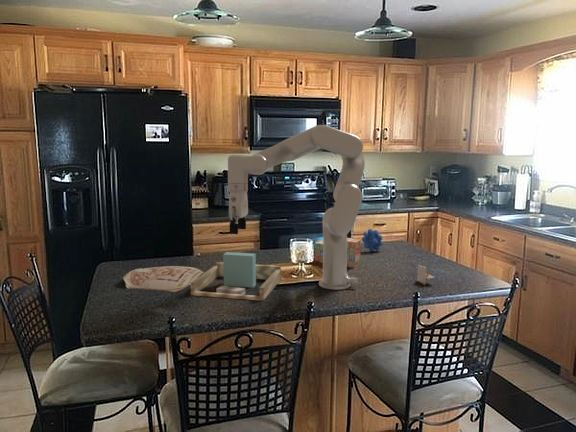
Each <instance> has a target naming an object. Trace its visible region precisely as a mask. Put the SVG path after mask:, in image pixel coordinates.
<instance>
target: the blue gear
mask: <svg viewBox="0 0 576 432" xmlns="http://www.w3.org/2000/svg"><path fill="white" fill-rule="evenodd" d="M362 235H363V237H362V238H361V243H364V244H363V246H364V248H365V249H368V250H369V252H374V250H375V251H376V252H378V251H380V247H382V246H383V244H384V243H383V241H382V240H383V236H382V235H381V234H379V231H378V230H373V228H368V230H367V231H364V232H363V234H362Z"/></svg>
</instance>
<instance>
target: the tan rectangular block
mask: <svg viewBox="0 0 576 432" xmlns="http://www.w3.org/2000/svg"><path fill="white" fill-rule="evenodd" d="M361 249H362V239H356V238H351V237H347V268H353V269H356V268H358V267H359V266H361V254H362V253H361V251H362V250H361ZM314 262H315V263H320V264H323V240H319V241H316V242H314Z"/></svg>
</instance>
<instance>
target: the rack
mask: <svg viewBox="0 0 576 432" xmlns="http://www.w3.org/2000/svg"><path fill="white" fill-rule="evenodd" d="M218 277H223V278H224V272H223V261H216V262H214V265H213V266H212V267H211V268H209V269H208V270H207V271H205V272H204V273H202V274H201V275H200V276H199V277H198V278H197V279H195V280H194V281H192V282H191V285H190V296H196V297H197V296H199V297H200V296H201V297H212V298H221V299H222V298H225V299H236V300H237V299H238V300H239V299H240V300H251V301H261V302H263V301H265V299H266V298H267V297H268V296H269V295H270V293H271V292H272V291H273V290H274V289H275V287H276V286H277V285H278V283H280V282H281V281H282V266H281V265H272V264H257V263H256V280H262V281H263V280H265V281H264V282H263V283H262V284H261V285H260V286H259V295H254V294H252V295H250V294H244V295H241V294H228V293H217V292H212V291H211V292H210V291H202V290H203V289H204V288H206V287H207V286H209V285H210V284H211V283H212V282H214V281H215V280H216V279H217V278H218ZM280 280H281V281H280Z"/></svg>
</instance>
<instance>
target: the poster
mask: <svg viewBox="0 0 576 432" xmlns="http://www.w3.org/2000/svg"><path fill="white" fill-rule="evenodd" d="M204 273H205V272H204V271H203V270H201V269H199V268H196V267H192V266H179V265H178V266H177V265H176V266H175V265H172V266H171V265H170V266H167V265H166V266H154V267H144V268H143V267H142V268H135V269H133V270H131V271H128V272H127V273H126V274H125V275H124V276H123V277H122V280H123V281H124V283H125V287H126V288H127V289H136V288H137V289H139V290H151V291H154V290H155V291H164V292H165V291H166V292H173V293H176V292H180V291H183V289H185V288H187V287H188V286H191V282H192V281H194V280H195V279H197V278H198V277H199V276H201V275H202V274H204Z"/></svg>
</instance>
